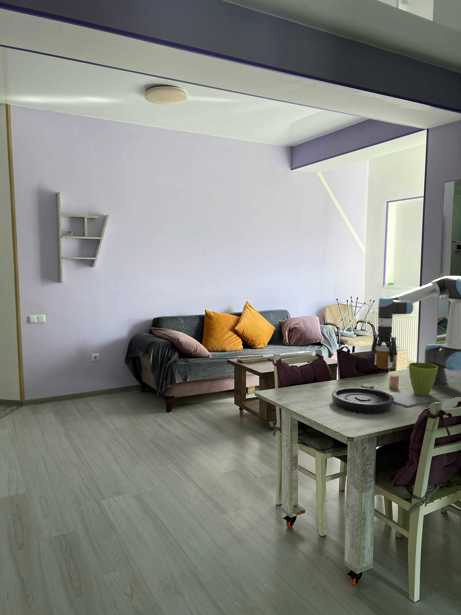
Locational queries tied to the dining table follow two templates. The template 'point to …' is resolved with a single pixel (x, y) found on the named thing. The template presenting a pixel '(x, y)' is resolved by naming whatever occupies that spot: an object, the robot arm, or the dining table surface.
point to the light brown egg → (393, 381)
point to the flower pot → (422, 377)
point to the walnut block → (367, 386)
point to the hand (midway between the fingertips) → (383, 365)
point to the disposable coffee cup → (382, 356)
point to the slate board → (408, 400)
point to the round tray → (362, 400)
